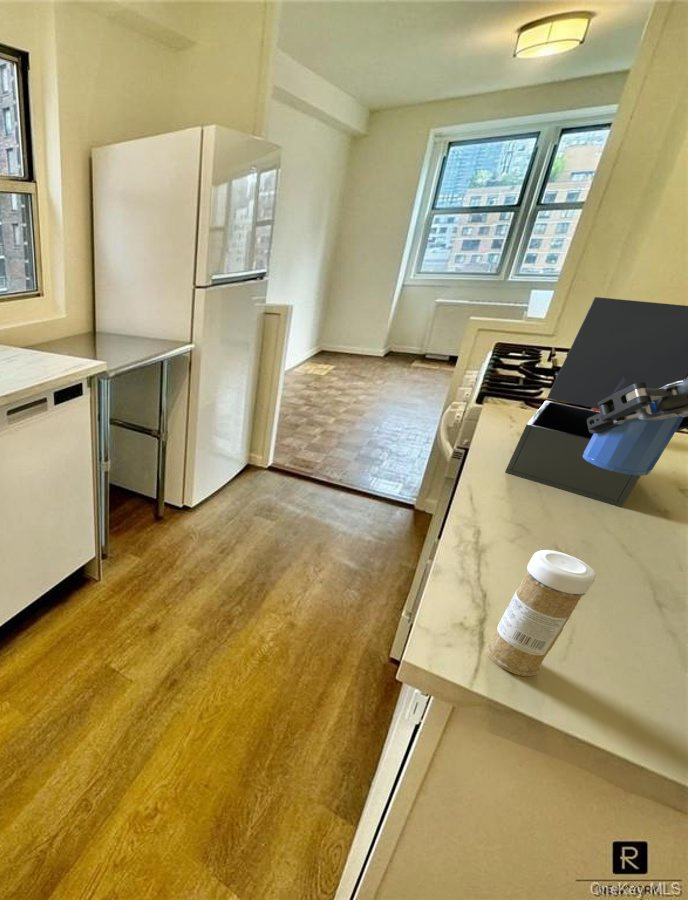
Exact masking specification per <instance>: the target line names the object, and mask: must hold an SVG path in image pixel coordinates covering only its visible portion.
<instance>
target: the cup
mask: <svg viewBox="0 0 688 900" xmlns="http://www.w3.org/2000/svg"><path fill="white" fill-rule="evenodd" d="M649 406H650V409H651V413H652V414H655V413H659V412H658V411H657V408H656V405H655V402H652V403H651V404H649ZM636 413H637V410H636V411H634V412H632V413H629V414H627V416H629V415H633V414H636ZM683 419H684V417H680V416H677V417H672V418H668V419H663V420H658V421H653V422H645V421H643V420H638V421H634V422H629V423H624V424H622V425H620V426H617V427H615V428H612V429H609V430H607V431H604V432H601V433H599V434H595V433H594V434H593V436H592V438H591V439H590V441H589V443H588V445H587V447H586V449H585V451H584V453H583V455H582V456H583V458H584V459H585V460H586V461H588V462H589V463H591V464H593V465H596V466H598V467H601V468H604V469H607V470H610V471H614V472H618V473H623V474H629V475H641V476H648V475H649V474H651V472H652V470H653V469H654V468H655V466H656V465H657V463H658V462H659V460H660V458H661V456H662V455H663V453H664V452H665V450H666V448H667V446H668V445H669V443H670V441H671V440H672V439H673V437H674V435H675V433H677V432H676V430H677V428H678V427H679V425H680V423H681V422H682V420H683Z"/></svg>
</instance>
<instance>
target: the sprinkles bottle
mask: <svg viewBox="0 0 688 900" xmlns="http://www.w3.org/2000/svg"><path fill="white" fill-rule="evenodd" d="M526 567H527V569H526V574H525V575H524V576H523V578H522V581H521V583H520V585H519V586H518V588H516V591H515V592H514V594H513V595H512V598H511V600H510V602H509V604H508V606H507V607H506V609H505V611H504V613H503V614H502V616H501V619H500V621H499V623H498V625H497V628H496V630H495V631H494V633H493V634H492V637H491V640H490V641H489V642H487V644H486V646H485V651H486V654H487V655H488V657H489V658H490V659H491V660H492V662H493V663H495V664H496V665H497V666H499V667H500V668H501V669H503V670H506V671H507V672H510V673H512V674H515V675H518V676H520V677H521V676H522V677H532V676H536V675H537V674H538V672H539V671H540V666H541V665H542V664H543V661H544V660H545V658H546V657H547V655H548V653H549V652H550V651H551V650H552V649H553V647H554V646H555V644H556V642H557V641H558V639H559V637H560V635H561V634H562V633H563V631H564V627H565V625H566V624H567V623H568V620H569V619H570V617H571V615H572V614H573V612H574V610H575V609H576V607H577V605H578V603H579V601H580V600H581V598H582V597H583V596H585V595H586V593H588V592H589V591H590V589H591V587H592V586H593V584H594V582H595V580H596V577H597V574H596V572H595V570H594V569H593V568H592V566H590V565H588V564H587V563H586V562H584V561H583V560H581V559H579V558H577V557H575V556H573V555H571V554H567V553H564V552H561V551H557V550H550V549H542V550H537V551H536V552H535V553H534V554H533V555H532V557H530V560H529V561H528V563H527V566H526Z"/></svg>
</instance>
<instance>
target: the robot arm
mask: <svg viewBox="0 0 688 900" xmlns="http://www.w3.org/2000/svg"><path fill="white" fill-rule="evenodd" d="M653 400H655V405H656V408H657V411H658V412H659V413H655V414H652V413H651V409H650V406H649V404H651V403H652V401H653ZM598 406H599V408H600V412H601V413H599V414H597V415H594V416H592V417H589V418H588V419H587V425H588V429H589V432H590V433H595V434H599V433H601V432H604V431H607V430H609V429H612V428H615V427H617V426H620V425H622V424H624V423H629V422H634V421H638V420H643V421H645V422H653V421H658V420H663V419H668V418H672V417H677V416H680V417H684V419H683V420H682V422H681V423H680V425H679V427H678V428H677V430H676V432H675V433H677V432H680V431H683V430H686V429H688V375H687V376H686V377H685V379H684V380H681V381H677V382H673V383H670V384H668V385H665V386H663V387H662V388H658V389H648V387H647V383H646V382H639V383H635V384H632V385H630V386H628V387H626V388H624V389H623V390H621V391H619V392H617V393H615V394H613V395H611V396H609V397H607V398H605V399H603V400H601V401H599V402H598ZM636 410H637V413H636V414H633V415H629V416H627V414H629V413H632V412H634V411H636Z"/></svg>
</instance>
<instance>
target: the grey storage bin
mask: <svg viewBox="0 0 688 900" xmlns="http://www.w3.org/2000/svg"><path fill="white" fill-rule="evenodd" d="M599 413H601V412H599V411H594V410H591V408H590V409H589V408H584V407H579V406H575V405H569V404H566V403H560V402H555V401H550V400H545V401H544V402H543V404H542V405H541V406H540V407H539V409H538V410H536V412H535V414H533V416H532V417H531V418H530V420H528V422H527V423H526V425H525V427H524V429H523V431H522V433H521V435H520V437H519V439H518V442H517V444H516V447H515V449H514V451H513V453H512V456H511V457H510V460H509V462H508V464H507V467H506V469H505V471H504V473H505V474H508V475H509V474H510V475H512V476H515V477H519V478H522V479H526V480H529V481H533V482H536V483H539V484H542V485H547V486H549V487H553V488H556V489H558V490H559V489H560V490H562V491H566V492H570V493H572V494H576V495H579V496H582V497H587V498H589V499H593V500H596V501H599V502H603V503H606V504H609V505H612V506H616V507H619V508H623V506H624V504H625V503H626V501H627V499H628V497H629V496H630V494H631V493H632V491H633V489H634V488H635V486H636V484H637V482H638V481H639V480H640V478H641V476H642V475H629V474H623V473H618V472H614V471H610V470H607V469H604V468H601V467H598V466H596V465H593V464H591V463H589V462H588V461H586V460H585V459H584V458H583V456H582V455H583V453H584V451H585V449H586V447H587V445H588V443H589V441H590V439H591V438H592V436H593V434H594V433H590V432H589V429H588V425H587V419H588V418H589V417H592V416H594V415H597V414H599Z"/></svg>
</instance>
